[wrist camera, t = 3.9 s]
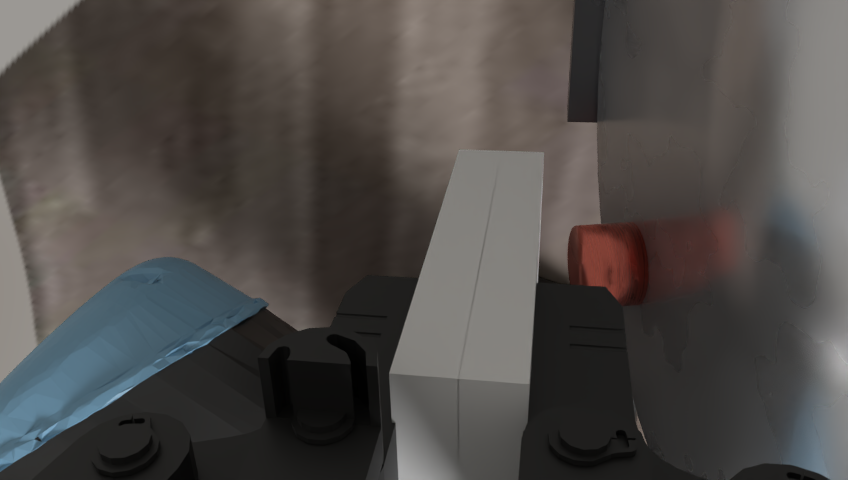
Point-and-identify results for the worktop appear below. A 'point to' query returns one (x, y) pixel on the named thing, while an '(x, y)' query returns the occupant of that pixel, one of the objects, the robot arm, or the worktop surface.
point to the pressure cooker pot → (585, 60)
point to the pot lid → (727, 227)
